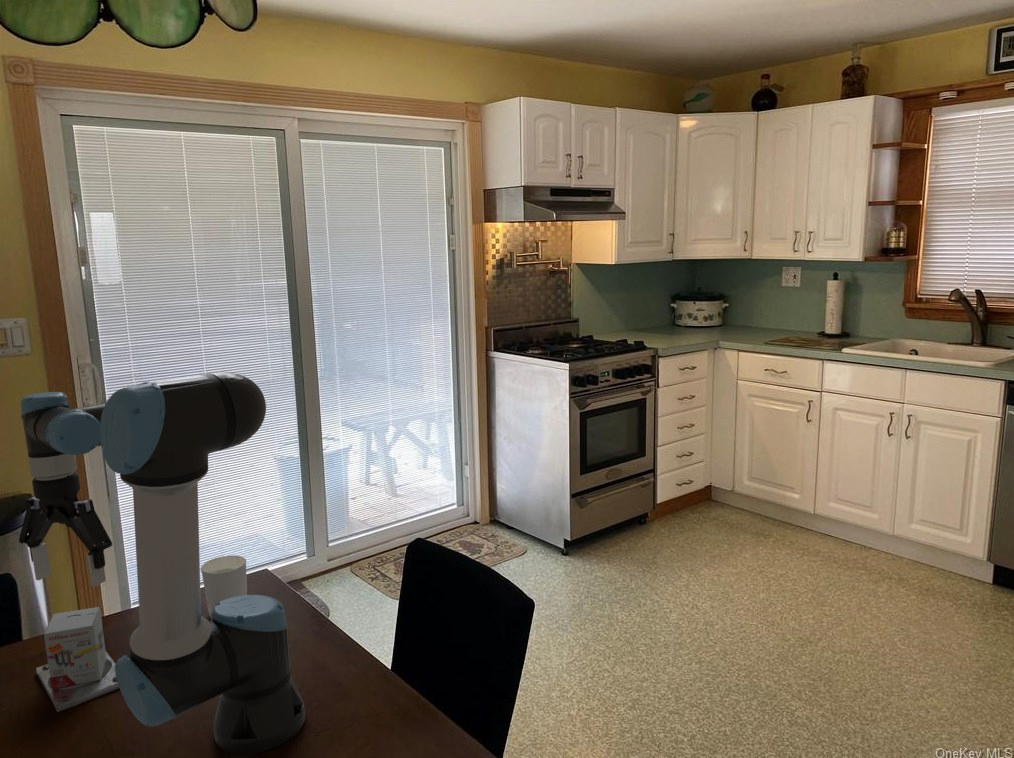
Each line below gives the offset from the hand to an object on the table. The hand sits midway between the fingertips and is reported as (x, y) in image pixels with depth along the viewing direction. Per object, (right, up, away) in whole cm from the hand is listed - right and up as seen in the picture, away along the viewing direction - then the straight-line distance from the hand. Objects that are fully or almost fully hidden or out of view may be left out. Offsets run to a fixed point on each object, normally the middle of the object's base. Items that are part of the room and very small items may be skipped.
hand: (70, 580), depth 142 cm
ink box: (0, -19, +3) cm, 20 cm away
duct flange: (0, -20, +4) cm, 21 cm away
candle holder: (+19, -16, +29) cm, 38 cm away
